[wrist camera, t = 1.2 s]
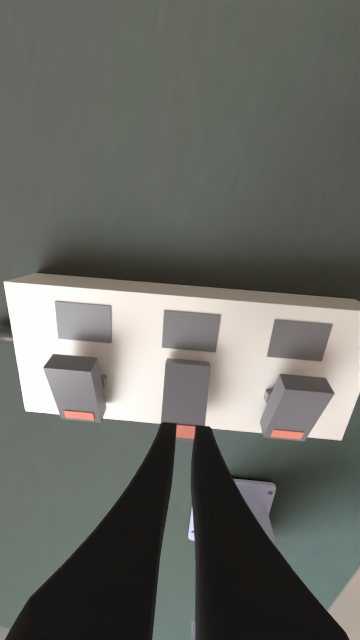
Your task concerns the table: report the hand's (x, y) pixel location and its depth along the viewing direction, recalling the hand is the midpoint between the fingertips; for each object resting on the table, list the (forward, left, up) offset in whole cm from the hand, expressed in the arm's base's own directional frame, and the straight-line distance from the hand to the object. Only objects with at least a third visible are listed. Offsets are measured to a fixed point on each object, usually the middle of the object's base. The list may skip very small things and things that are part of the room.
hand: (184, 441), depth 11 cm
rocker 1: (-1, +7, -5) cm, 9 cm away
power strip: (0, +2, -10) cm, 10 cm away
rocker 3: (-1, -7, -5) cm, 9 cm away
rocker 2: (-1, 0, -5) cm, 5 cm away
